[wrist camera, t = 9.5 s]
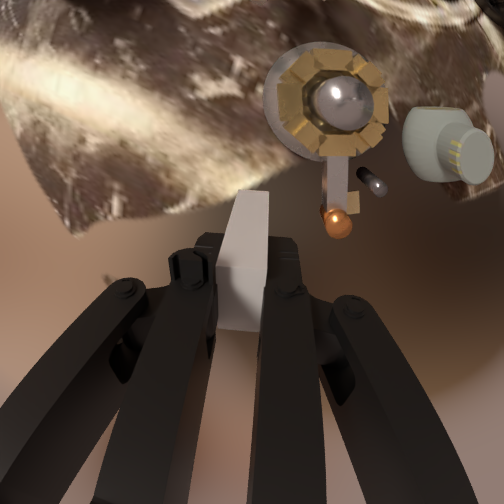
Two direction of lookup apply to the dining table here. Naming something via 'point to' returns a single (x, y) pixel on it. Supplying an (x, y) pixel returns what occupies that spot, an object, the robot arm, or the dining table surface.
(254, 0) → the pipe connector
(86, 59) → the dining table surface
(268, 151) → the dining table surface
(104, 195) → the dining table surface
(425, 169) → the air freshener
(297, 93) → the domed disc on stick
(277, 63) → the gold and silver mechanism
